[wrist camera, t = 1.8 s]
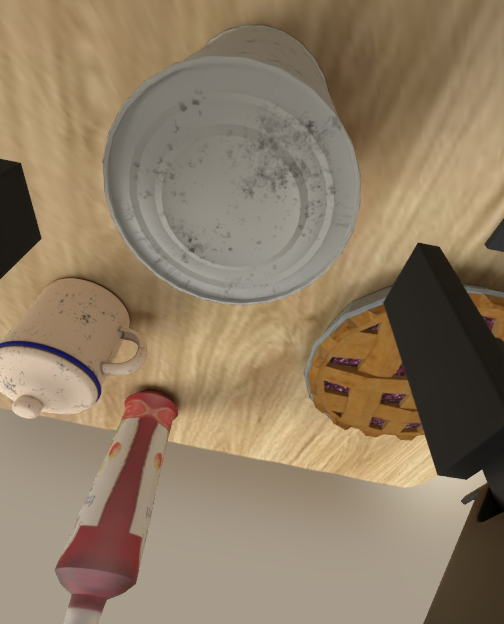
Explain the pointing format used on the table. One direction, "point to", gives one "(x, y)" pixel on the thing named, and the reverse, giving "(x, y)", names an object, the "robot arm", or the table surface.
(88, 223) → the table surface
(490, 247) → the back mat
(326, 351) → the pie
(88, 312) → the teacup with lid
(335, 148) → the tin can
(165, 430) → the liquor
